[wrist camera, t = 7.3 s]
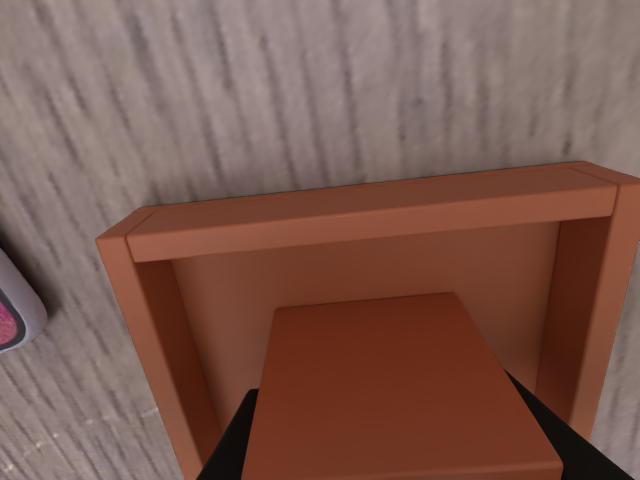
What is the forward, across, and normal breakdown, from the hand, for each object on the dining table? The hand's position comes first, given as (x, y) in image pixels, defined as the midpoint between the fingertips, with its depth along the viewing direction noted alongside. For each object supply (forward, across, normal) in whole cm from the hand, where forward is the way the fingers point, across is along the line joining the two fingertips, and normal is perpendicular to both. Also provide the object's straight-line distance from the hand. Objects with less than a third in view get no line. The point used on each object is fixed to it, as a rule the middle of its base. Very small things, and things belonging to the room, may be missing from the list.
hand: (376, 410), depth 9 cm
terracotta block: (+1, 0, 0) cm, 1 cm away
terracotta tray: (+2, 0, 0) cm, 2 cm away
